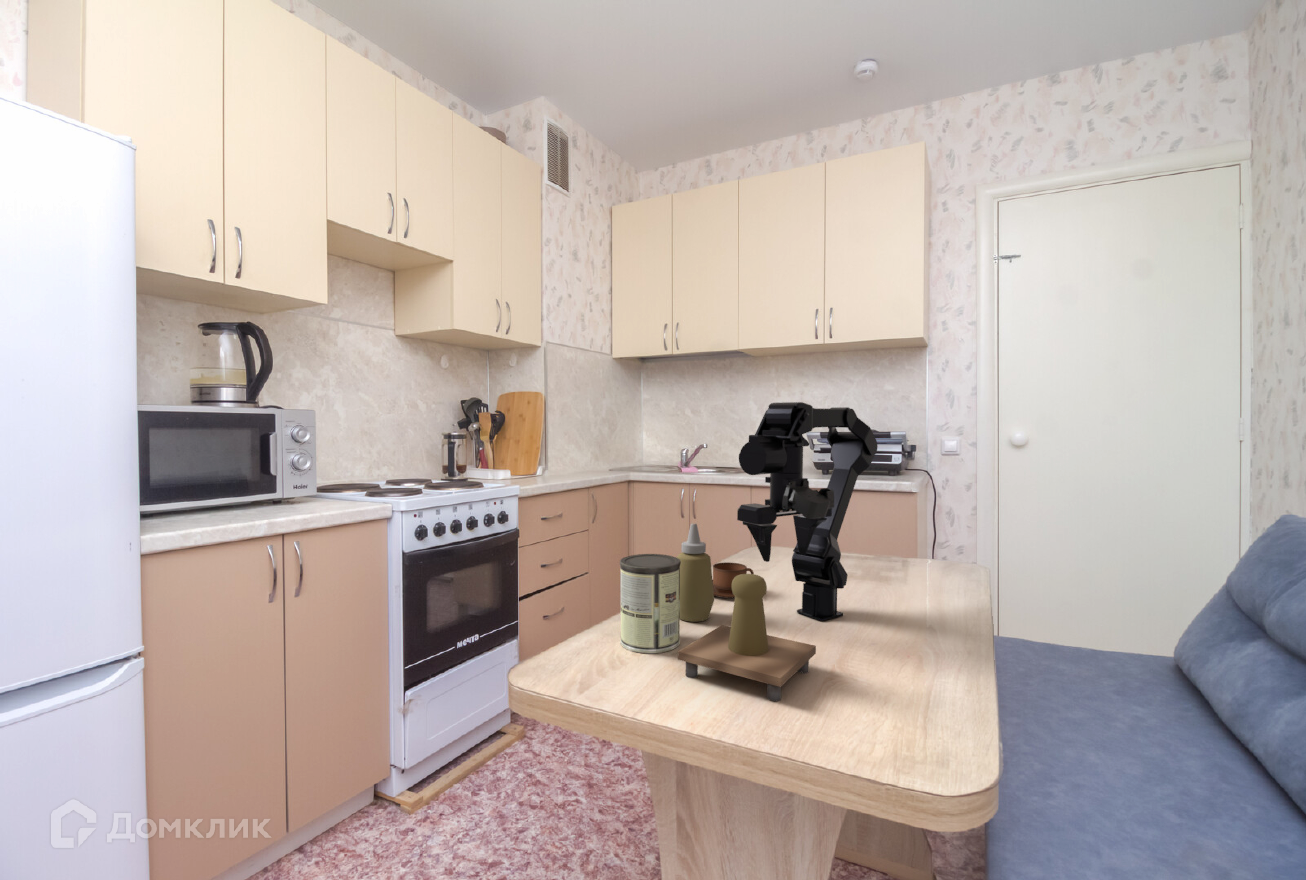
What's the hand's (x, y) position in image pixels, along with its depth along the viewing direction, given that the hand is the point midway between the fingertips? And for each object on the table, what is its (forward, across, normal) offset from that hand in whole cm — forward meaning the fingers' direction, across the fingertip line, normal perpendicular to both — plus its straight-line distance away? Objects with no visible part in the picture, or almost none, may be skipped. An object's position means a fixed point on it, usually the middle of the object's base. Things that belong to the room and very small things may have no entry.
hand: (784, 558), depth 109 cm
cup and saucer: (+13, +7, +22) cm, 27 cm away
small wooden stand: (+13, -19, -10) cm, 25 cm away
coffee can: (+13, -24, +8) cm, 29 cm away
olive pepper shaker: (+10, -18, -10) cm, 23 cm away
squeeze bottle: (+13, -10, +14) cm, 22 cm away
